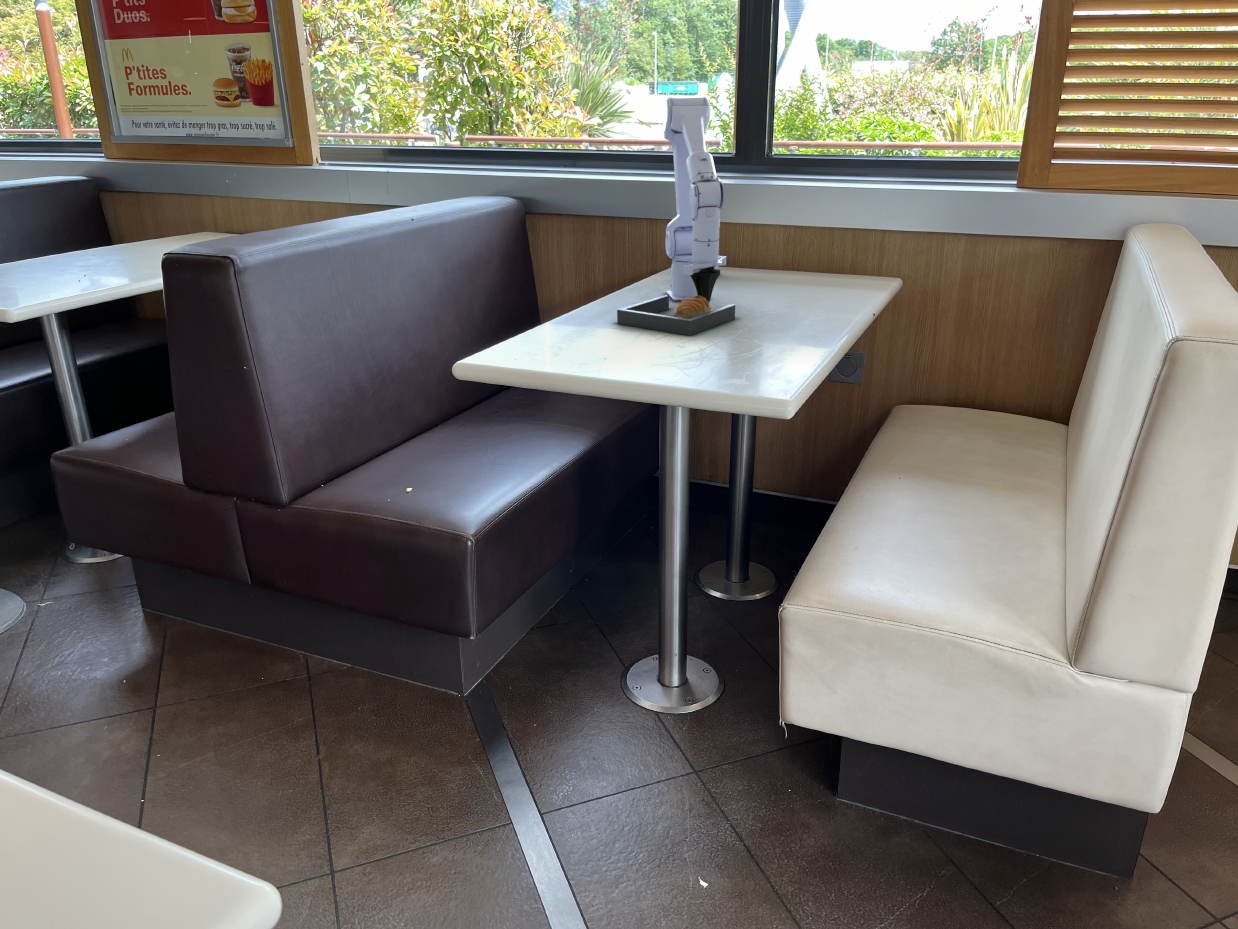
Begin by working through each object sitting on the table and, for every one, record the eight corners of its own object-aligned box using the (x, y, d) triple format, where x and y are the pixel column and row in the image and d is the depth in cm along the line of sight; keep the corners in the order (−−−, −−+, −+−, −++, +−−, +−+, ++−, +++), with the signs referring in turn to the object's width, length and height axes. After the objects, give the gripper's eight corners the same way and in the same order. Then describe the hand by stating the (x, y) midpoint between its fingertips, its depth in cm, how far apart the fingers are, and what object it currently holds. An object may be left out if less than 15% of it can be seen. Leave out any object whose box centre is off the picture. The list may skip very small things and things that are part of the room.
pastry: (698, 322, 187) (698, 304, 186) (668, 319, 190) (668, 302, 188) (712, 312, 195) (712, 295, 194) (683, 310, 198) (683, 293, 196)
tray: (664, 308, 200) (664, 294, 199) (735, 318, 190) (735, 304, 189) (617, 323, 187) (616, 309, 186) (690, 335, 177) (690, 320, 176)
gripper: (703, 245, 183) (702, 311, 188) (739, 236, 194) (736, 299, 199) (674, 243, 187) (674, 307, 192) (711, 234, 197) (709, 295, 203)
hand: (704, 302), depth 196 cm, fingers closed
